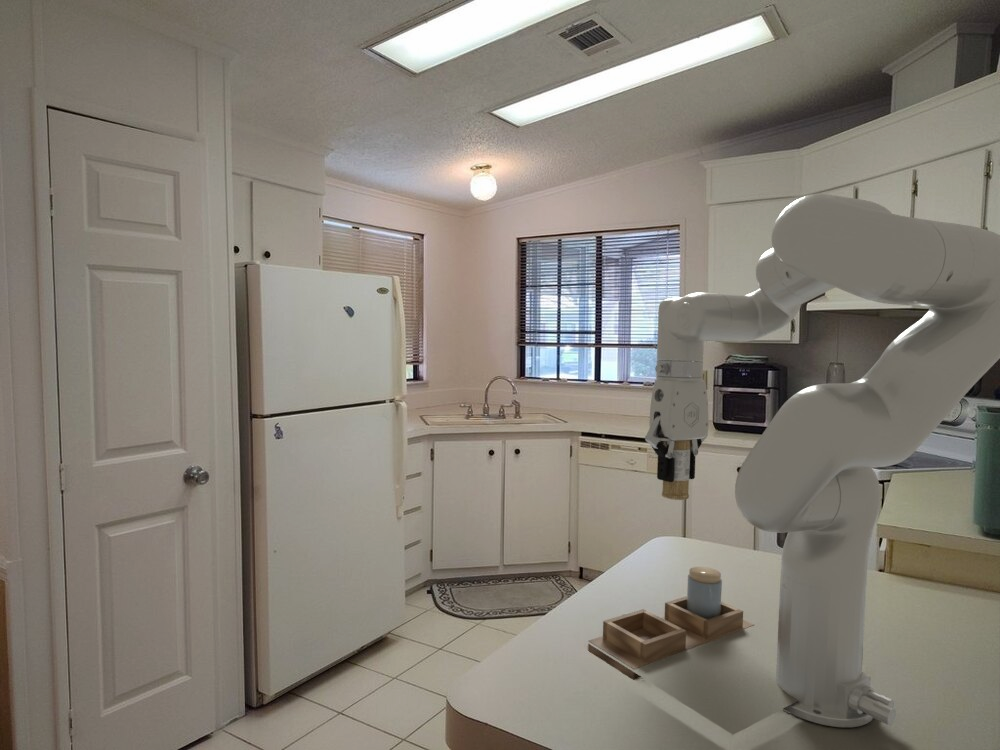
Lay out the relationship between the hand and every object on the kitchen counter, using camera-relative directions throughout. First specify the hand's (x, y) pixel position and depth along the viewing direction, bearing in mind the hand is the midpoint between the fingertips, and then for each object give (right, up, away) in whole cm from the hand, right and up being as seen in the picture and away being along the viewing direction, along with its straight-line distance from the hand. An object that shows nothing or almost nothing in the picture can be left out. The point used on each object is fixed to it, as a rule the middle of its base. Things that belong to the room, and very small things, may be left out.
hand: (675, 478), depth 104 cm
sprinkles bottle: (0, -4, 0) cm, 4 cm away
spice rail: (-4, -23, -12) cm, 26 cm away
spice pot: (+2, -21, -9) cm, 23 cm away
